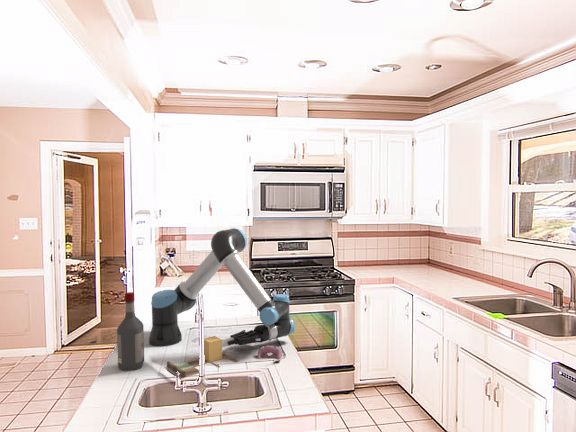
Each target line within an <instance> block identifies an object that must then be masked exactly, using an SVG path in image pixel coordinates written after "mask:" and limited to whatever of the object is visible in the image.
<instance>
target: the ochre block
mask: <svg viewBox="0 0 576 432" xmlns="http://www.w3.org/2000/svg"><path fill="white" fill-rule="evenodd" d="M203 339H204V355H205V360H207V361H208V362H211V361H213V362H216V361H215V360H217V361H220V360H219V359H221V360H223V359H222V353H223V348H222V340H223V339H221V338H220V337H217V336H215V335H213V336H209V337H205V338H203Z"/></svg>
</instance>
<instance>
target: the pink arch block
mask: <svg viewBox="0 0 576 432" xmlns="http://www.w3.org/2000/svg"><path fill="white" fill-rule="evenodd" d="M269 354H271V355H270V357H274V358H276V360H277V363H278V364H279V363H280V362H281V358H282V351H281V348H279V347H278V346H275V345H263V346H261V347H260V348H259V349H258V352H257V355H256V356H257V359H258V360H260V359H262V357H269Z"/></svg>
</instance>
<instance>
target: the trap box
mask: <svg viewBox="0 0 576 432" xmlns="http://www.w3.org/2000/svg"><path fill="white" fill-rule="evenodd" d="M199 358H200V357H198V358H195V359H192V360H191V359H190V360H188V361H184V362H181V363H176V364H174V363H173V362H171V361H166V368H168V369H166V371H167V372H168V373H169V374H171V375H173V377H175V376H177V375H176V372H177V371H178V372H179V373H180V376H179V377H180V378H181V379H184V378H187V377H190V376H194V375H197V374H198V375H199V374H200V373H199V370H200V369H198V368H196V367H198V366H200V365H199ZM225 359H228V360H230V361H231V362H234V363H239V362H240V360H238V359H236V358H234V357H232V356H230V355H228V354H226V353H224V352H222V359H219V360H215V361H211V362H208V361H207V360H205V364H209V363H210V364H211V365H212V366H214V367H216V368H221V366H220V365H218V364H217V363H214V362H218V361H220V360H225ZM205 364H204V365H205ZM170 370H171V371H170ZM174 373H175V374H174Z"/></svg>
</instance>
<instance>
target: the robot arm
mask: <svg viewBox="0 0 576 432" xmlns="http://www.w3.org/2000/svg"><path fill="white" fill-rule="evenodd" d="M247 240H248V239H247V235H246V234H245V232H244V231H243V230H242V229H239V228H228V229H223V230H219V231H217V232H215V233H214V235H212V238H211V241H210V245H211V246H210V248H211V251H210V252H209V253H208V255H207V256H206V257H205V258H204V260H202V262H201V263H200V264H199V265H198V266H197V267H196V269H195V270H194V271H193V272H192V274H190V276H189V277H188V278H187V280H186V281H181V282H180V283H179V284H178V285H177V286H176V287H175V289H164V290H159V291H157V292H155V293H153V294H152V297H151V302H150V305H151V322H152V326H151V329H150V333H149V336H148V343H149V345H151V346H154V347H155V346H156V347H158V346H159V347H164V346H167V347H168V346H171V345H176V344H178V343H180V342H181V341H182V339H183V338H182V337H183V336H182V332H181V330H180V329H181V328H180V327H179V324H178V322H179V321H178V315H179V314H182V313H184V312H187V311H189V310H191V309H192V308H193V307H195V305H196V303H197V301H196V297H197V294H199V295H200V293H201V291H202V290H203V289H204V287H205V286H206V285H207V283H209V282H210V280H211V279H212V278H213V277H214V276H215V275H216V274H217V273H218V271H219V270H220V269H221V268H222V267H223V265H224V266H225V267H226V269H227V270H228V272H229V273H230V275H231V276H232V277H233V279H234V280H235V281H236V282H237V284H238V285H239V287H240V288H241V289H242V291H243V292H244V293H245V295H246V296H247V298H248V299H249V300H250V301H251V303H253V305H254V307H255V308H256V309H257V311H258V312H259V321H260V322H261V323H262V324H258V325H256V326H254V329H251V330H248V331H246V329H243V330H241V331H239V332H236V333H233V334H230V335H229V336H230V337H228V338H225V339H222V349H223V348H226V347H229V346H233V345H236V346H237V345H238V346H244V345H249V344H256V343H265V342H268V341H269V342H271V341H272V340H275V339H279V338H283V337H287V336H291V335H292V334H293V333H294V332H295V329H296V325H295V322H294V320H293V319H292V318H290V303H291V302H290V296H289V295H288V294H286V293H285V294H284V293H278V294H274V295H273V296H272V298H273V299H272V298H271V297H270V296H269V294H268V293H267V292H266V291H265V289H264V288H263V286H262V285H261V283H260V282H259V280H258V279H257V278H256V276H254V274H253V273H252V271H251V270H250V269H249V267H248V266H247V265H246V263H245V262H244V260H243V259H242V258H241V257H240V255H239V253H240V252H241V253H242V251H243V250H245V249H246V247H247V244H248V241H247Z"/></svg>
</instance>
